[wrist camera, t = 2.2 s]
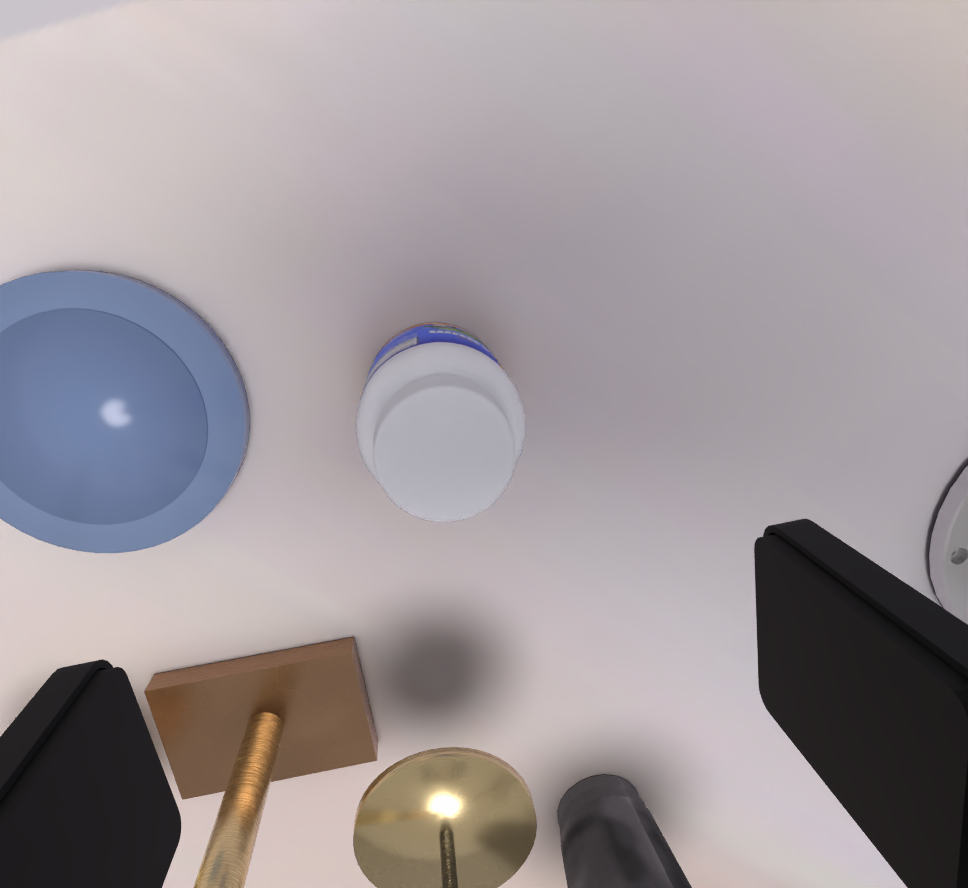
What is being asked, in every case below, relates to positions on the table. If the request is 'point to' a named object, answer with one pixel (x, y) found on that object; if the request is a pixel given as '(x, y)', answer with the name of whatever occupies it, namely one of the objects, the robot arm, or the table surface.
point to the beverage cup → (613, 839)
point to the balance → (330, 745)
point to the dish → (112, 412)
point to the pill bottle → (440, 423)
